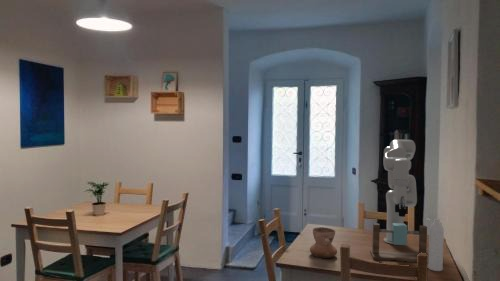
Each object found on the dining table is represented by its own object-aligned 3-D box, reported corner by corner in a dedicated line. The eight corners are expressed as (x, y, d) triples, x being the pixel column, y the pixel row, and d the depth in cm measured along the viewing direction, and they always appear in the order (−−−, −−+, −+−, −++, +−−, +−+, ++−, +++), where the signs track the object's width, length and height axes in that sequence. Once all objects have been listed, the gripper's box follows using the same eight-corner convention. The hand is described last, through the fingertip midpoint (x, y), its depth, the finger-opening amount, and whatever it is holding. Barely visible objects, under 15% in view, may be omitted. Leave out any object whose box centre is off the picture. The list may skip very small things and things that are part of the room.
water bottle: (438, 266, 201) (440, 217, 201) (444, 271, 195) (446, 220, 194) (421, 266, 202) (422, 217, 201) (426, 271, 195) (428, 220, 194)
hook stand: (370, 252, 223) (370, 221, 222) (423, 255, 219) (424, 223, 218) (373, 259, 211) (374, 226, 211) (429, 263, 207) (430, 229, 206)
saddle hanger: (391, 241, 218) (392, 223, 218) (404, 241, 217) (404, 223, 217) (393, 244, 212) (394, 225, 212) (406, 245, 211) (407, 226, 211)
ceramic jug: (340, 261, 208) (341, 233, 208) (312, 260, 207) (313, 233, 207) (332, 251, 226) (333, 225, 226) (306, 250, 225) (307, 225, 225)
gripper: (390, 179, 223) (389, 210, 224) (396, 184, 206) (396, 217, 206) (404, 180, 222) (403, 211, 222) (412, 185, 205) (411, 218, 205)
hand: (399, 214), depth 214 cm, fingers open, 9 cm apart
